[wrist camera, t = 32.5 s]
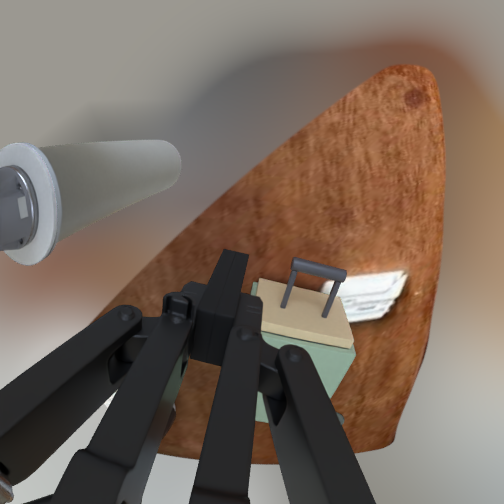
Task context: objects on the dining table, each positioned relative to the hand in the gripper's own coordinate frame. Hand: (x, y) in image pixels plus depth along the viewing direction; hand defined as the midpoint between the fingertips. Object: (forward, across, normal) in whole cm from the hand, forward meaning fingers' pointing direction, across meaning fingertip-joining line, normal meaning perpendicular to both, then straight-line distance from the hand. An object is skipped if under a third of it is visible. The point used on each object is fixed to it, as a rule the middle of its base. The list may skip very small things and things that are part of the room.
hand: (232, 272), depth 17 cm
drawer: (+19, +8, -13) cm, 25 cm away
